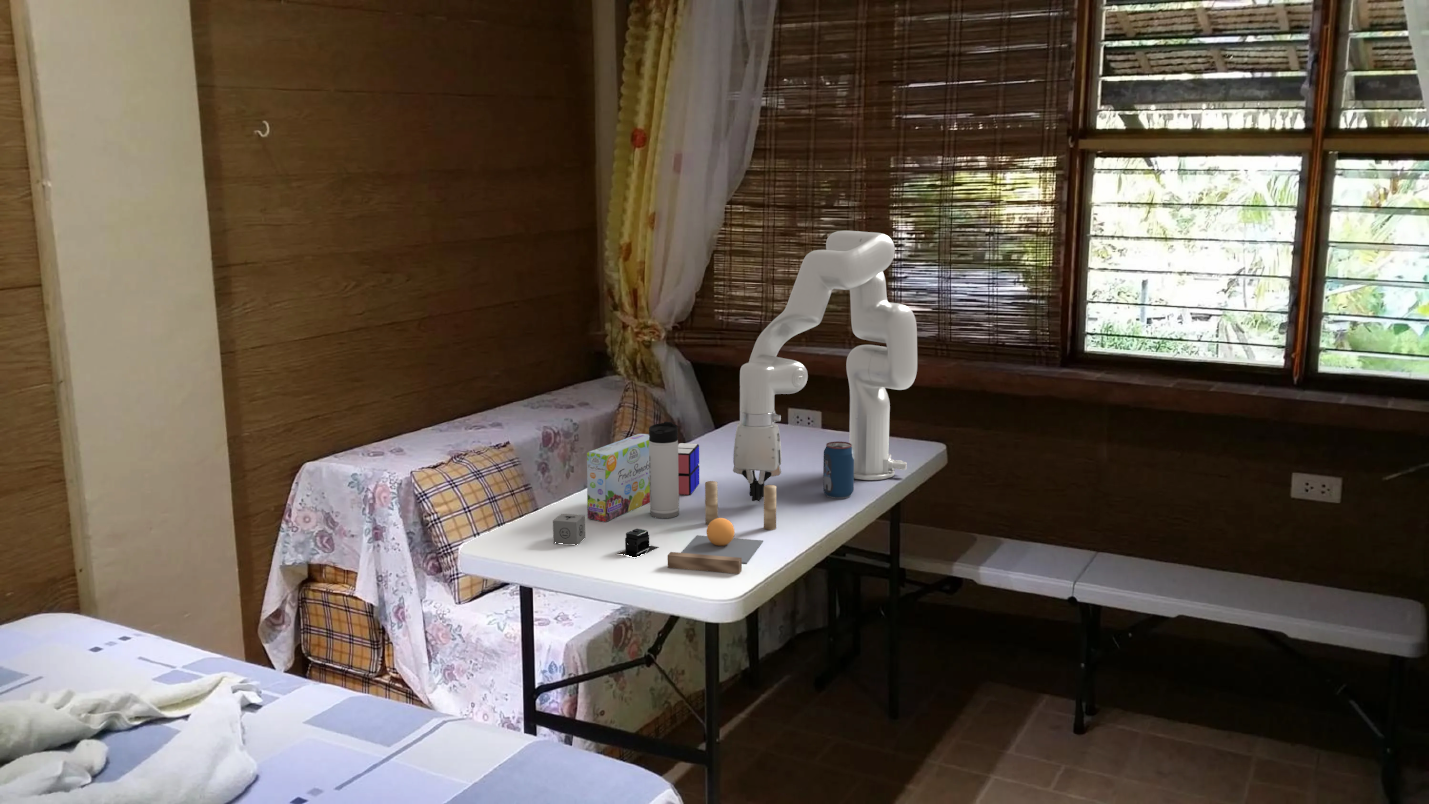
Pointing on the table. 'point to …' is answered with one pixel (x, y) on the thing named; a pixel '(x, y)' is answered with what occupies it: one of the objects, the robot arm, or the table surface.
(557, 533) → the dice cube
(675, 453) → the travel mug
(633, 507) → the snack box
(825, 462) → the soda can
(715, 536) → the ball
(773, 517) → the post near
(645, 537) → the black boxy piece
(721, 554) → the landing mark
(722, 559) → the stopper wall
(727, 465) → the table surface
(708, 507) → the post far
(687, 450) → the puzzle cube
